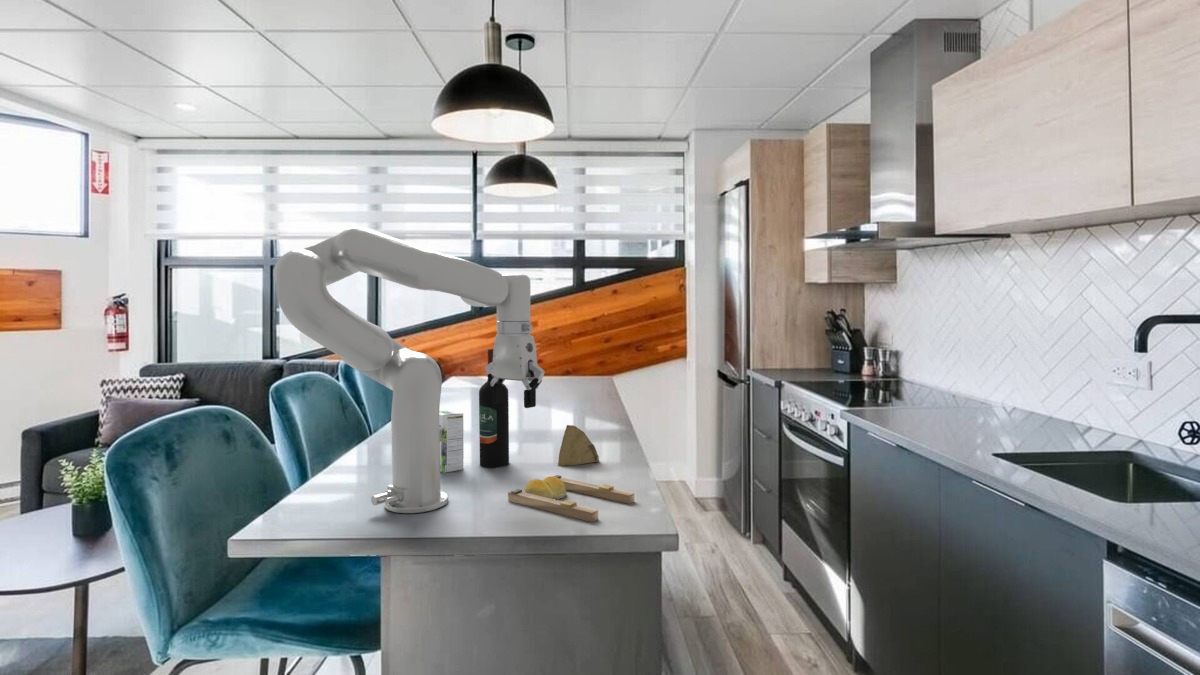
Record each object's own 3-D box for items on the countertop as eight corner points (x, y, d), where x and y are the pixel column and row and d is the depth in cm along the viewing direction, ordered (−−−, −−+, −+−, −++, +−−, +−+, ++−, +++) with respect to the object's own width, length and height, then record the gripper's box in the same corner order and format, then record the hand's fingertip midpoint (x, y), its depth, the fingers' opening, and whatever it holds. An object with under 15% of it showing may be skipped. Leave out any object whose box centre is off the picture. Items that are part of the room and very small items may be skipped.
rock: (605, 449, 163) (570, 442, 166) (603, 429, 157) (567, 421, 160) (592, 482, 155) (556, 474, 158) (590, 461, 150) (552, 453, 152)
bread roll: (520, 494, 133) (519, 476, 132) (558, 489, 136) (558, 471, 136) (531, 505, 125) (531, 486, 125) (571, 499, 129) (571, 480, 129)
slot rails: (591, 522, 114) (591, 510, 114) (508, 500, 127) (508, 490, 127) (634, 501, 127) (634, 490, 126) (554, 483, 139) (554, 473, 139)
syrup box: (433, 468, 153) (432, 412, 152) (454, 464, 156) (453, 409, 156) (443, 473, 148) (442, 415, 147) (464, 469, 152) (464, 412, 151)
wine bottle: (512, 466, 155) (511, 350, 153) (482, 469, 152) (481, 350, 151) (505, 459, 162) (504, 348, 160) (477, 462, 159) (475, 348, 158)
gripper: (554, 329, 133) (554, 406, 134) (498, 328, 143) (498, 399, 144) (531, 330, 127) (531, 411, 128) (474, 329, 137) (475, 403, 138)
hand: (513, 405), depth 136 cm, fingers open, 9 cm apart
